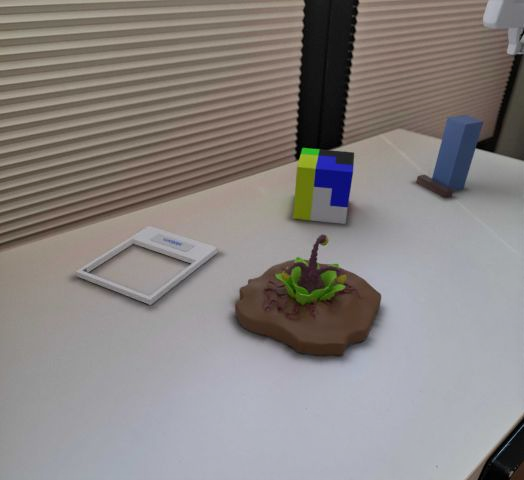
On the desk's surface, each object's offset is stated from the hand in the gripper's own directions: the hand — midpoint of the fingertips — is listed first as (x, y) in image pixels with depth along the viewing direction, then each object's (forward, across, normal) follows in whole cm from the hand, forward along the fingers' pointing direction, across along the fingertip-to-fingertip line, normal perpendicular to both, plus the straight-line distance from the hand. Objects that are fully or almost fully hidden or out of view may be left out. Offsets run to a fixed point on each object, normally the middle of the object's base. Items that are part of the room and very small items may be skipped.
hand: (516, 53), depth 98 cm
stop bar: (+25, -13, 0) cm, 28 cm away
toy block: (+25, -9, 0) cm, 27 cm away
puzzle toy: (+25, -41, +2) cm, 48 cm away
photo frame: (+25, -78, -3) cm, 82 cm away
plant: (+25, -61, -25) cm, 71 cm away
